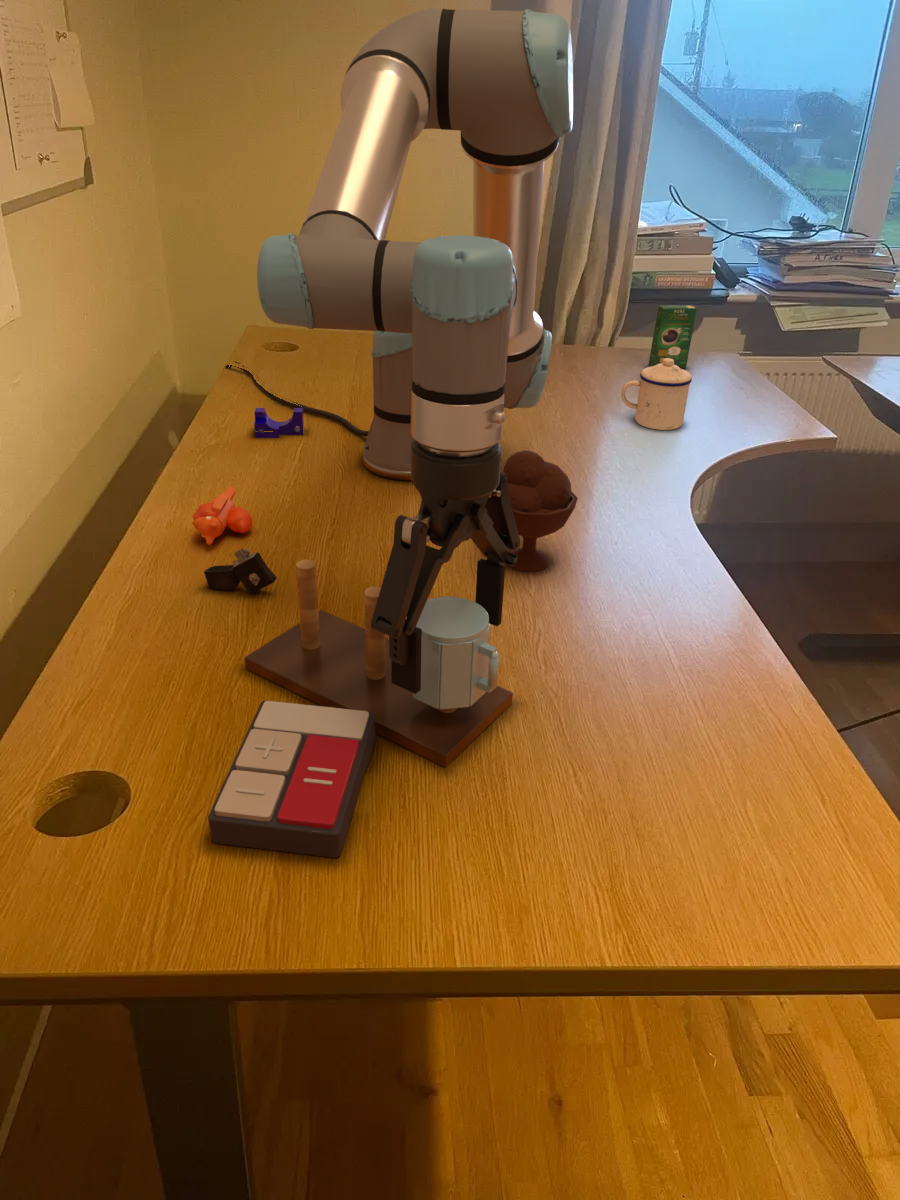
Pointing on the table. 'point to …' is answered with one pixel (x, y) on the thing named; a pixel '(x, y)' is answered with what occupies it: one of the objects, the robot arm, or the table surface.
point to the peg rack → (366, 678)
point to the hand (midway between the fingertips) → (449, 651)
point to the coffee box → (672, 334)
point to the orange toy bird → (221, 517)
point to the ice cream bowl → (537, 504)
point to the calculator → (295, 779)
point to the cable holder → (278, 424)
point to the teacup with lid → (660, 396)
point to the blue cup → (455, 653)
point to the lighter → (241, 573)
